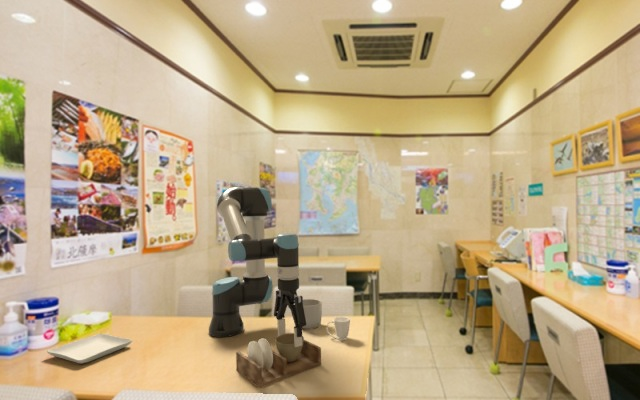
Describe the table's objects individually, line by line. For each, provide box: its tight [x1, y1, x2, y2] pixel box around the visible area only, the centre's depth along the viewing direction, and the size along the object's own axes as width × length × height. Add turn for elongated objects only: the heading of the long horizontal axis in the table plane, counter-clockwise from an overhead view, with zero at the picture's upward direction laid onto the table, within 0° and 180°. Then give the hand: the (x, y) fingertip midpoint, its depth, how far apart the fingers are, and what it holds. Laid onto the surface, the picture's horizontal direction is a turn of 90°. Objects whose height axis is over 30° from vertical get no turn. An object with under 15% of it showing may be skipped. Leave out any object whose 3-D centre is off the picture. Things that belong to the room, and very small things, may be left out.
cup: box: [326, 316, 351, 342], centre depth 147 cm, size 7×10×8 cm
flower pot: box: [275, 332, 305, 362], centre depth 124 cm, size 10×10×7 cm
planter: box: [302, 298, 323, 330], centre depth 164 cm, size 12×12×11 cm
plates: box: [246, 337, 273, 370], centre depth 117 cm, size 10×4×10 cm, turn 38°
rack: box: [235, 339, 322, 388], centre depth 121 cm, size 16×24×6 cm, turn 128°
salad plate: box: [46, 333, 133, 365], centre depth 139 cm, size 21×21×3 cm
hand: (289, 341), depth 124 cm, fingers closed on flower pot, 10 cm apart
